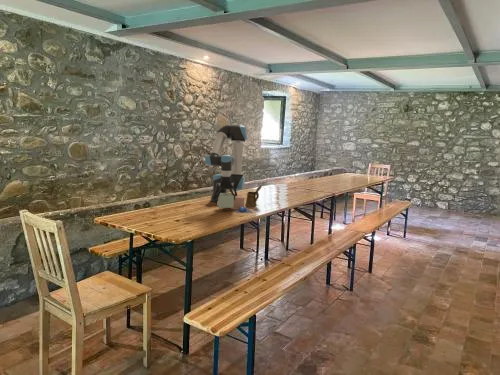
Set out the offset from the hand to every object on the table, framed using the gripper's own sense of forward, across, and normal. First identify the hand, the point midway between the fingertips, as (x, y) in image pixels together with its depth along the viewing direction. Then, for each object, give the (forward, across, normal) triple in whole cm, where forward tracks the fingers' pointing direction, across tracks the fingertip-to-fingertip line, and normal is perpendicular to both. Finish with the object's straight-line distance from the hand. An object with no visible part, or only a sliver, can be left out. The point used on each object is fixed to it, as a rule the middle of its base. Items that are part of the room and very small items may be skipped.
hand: (225, 205), depth 283 cm
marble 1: (+4, +12, -2) cm, 13 cm away
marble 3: (+4, +15, -4) cm, 16 cm away
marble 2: (+4, +12, -5) cm, 14 cm away
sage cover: (+1, 0, 0) cm, 1 cm away
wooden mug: (+5, +27, +15) cm, 31 cm away
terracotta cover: (+5, +11, +9) cm, 15 cm away
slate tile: (+5, +13, -4) cm, 14 cm away
